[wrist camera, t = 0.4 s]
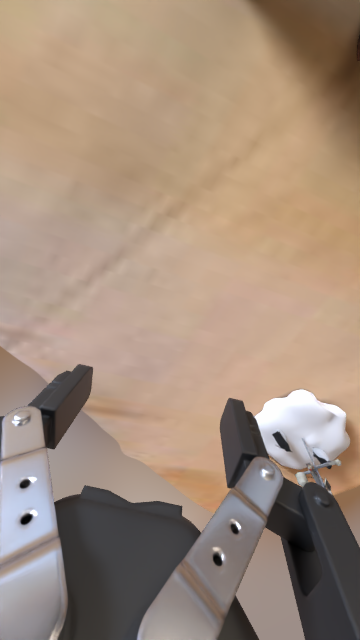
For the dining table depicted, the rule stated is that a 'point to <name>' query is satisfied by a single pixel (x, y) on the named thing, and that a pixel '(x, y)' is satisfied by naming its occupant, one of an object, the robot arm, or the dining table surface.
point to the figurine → (303, 434)
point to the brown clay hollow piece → (359, 47)
